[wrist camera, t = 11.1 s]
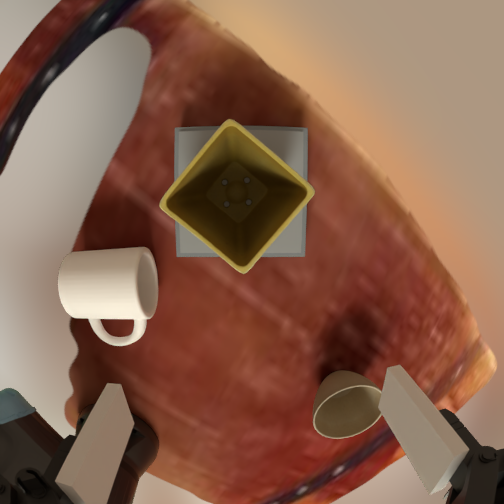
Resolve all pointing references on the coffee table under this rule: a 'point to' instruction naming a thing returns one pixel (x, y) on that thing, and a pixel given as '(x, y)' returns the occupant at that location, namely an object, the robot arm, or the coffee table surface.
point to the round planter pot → (345, 405)
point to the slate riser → (277, 140)
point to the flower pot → (236, 196)
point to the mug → (110, 288)
